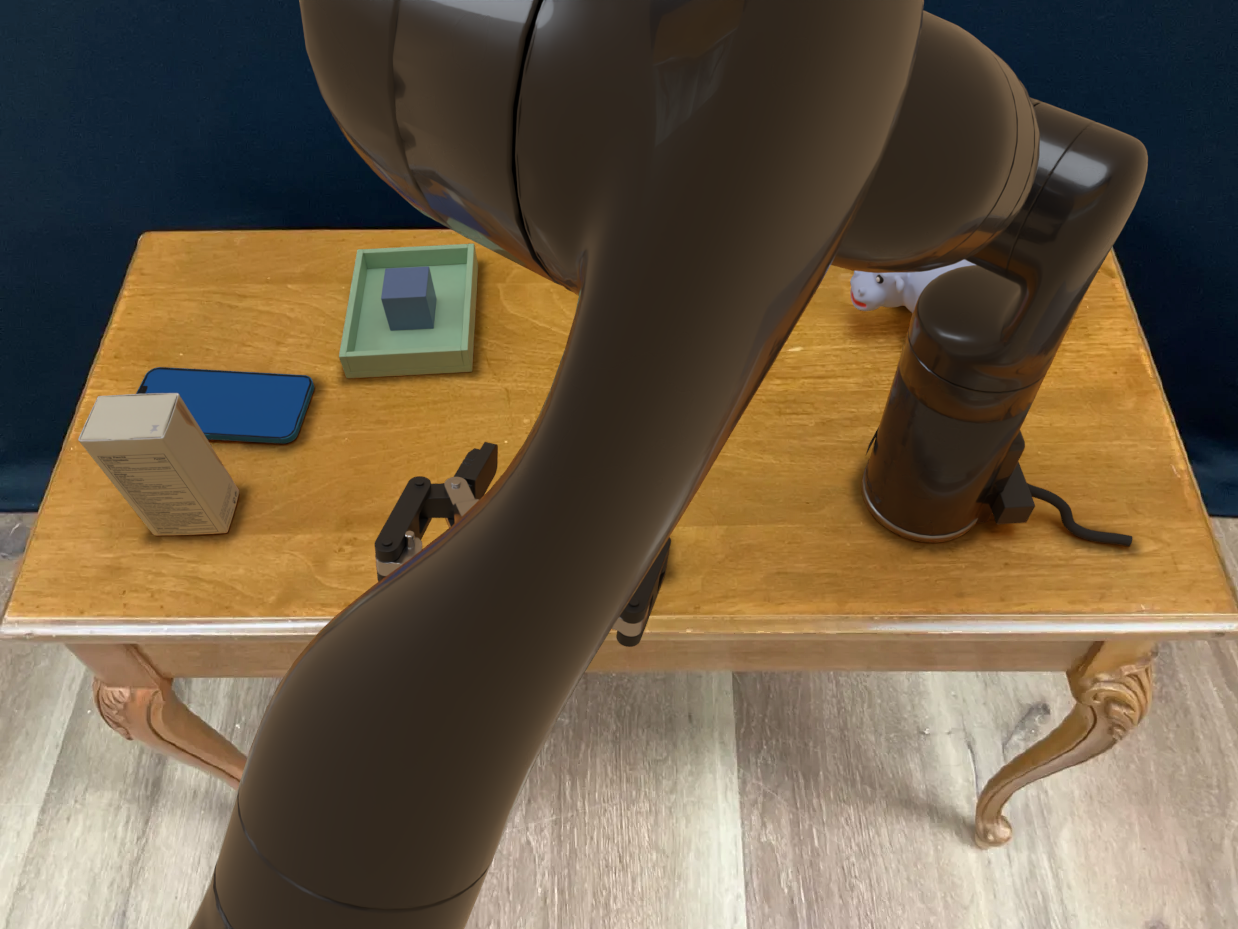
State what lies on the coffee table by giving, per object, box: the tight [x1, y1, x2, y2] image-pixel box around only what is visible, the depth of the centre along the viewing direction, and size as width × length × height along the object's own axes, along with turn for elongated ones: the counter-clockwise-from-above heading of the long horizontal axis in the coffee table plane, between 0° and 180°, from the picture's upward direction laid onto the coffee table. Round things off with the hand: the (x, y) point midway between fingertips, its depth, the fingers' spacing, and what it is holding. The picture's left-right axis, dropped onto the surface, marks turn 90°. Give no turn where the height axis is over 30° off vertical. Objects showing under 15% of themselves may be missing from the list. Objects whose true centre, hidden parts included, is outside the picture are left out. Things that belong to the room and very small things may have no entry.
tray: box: [338, 242, 479, 379], centre depth 89 cm, size 11×14×3 cm
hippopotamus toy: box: [849, 260, 975, 314], centre depth 85 cm, size 11×15×10 cm
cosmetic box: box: [77, 393, 240, 536], centre depth 73 cm, size 6×4×12 cm
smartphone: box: [135, 366, 315, 445], centre depth 84 cm, size 7×1×15 cm
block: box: [381, 266, 437, 331], centre depth 88 cm, size 4×4×4 cm
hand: (563, 471), depth 55 cm, fingers open, 8 cm apart
